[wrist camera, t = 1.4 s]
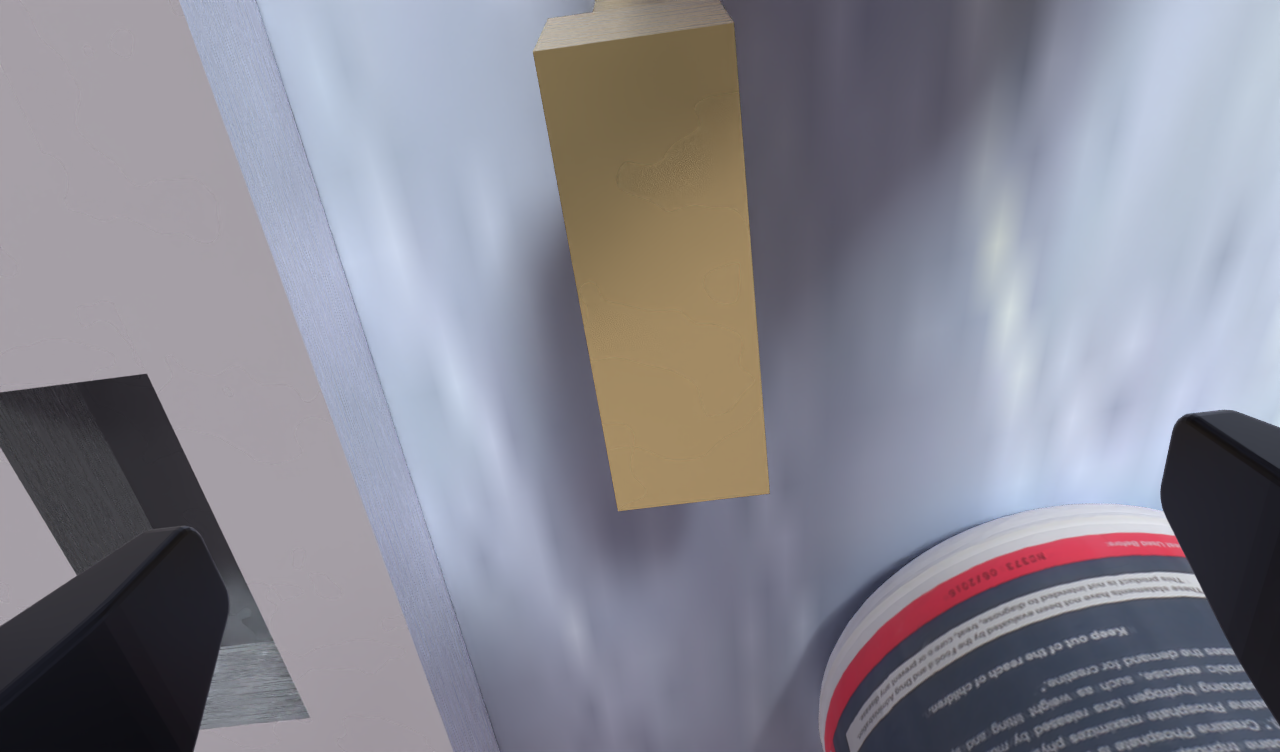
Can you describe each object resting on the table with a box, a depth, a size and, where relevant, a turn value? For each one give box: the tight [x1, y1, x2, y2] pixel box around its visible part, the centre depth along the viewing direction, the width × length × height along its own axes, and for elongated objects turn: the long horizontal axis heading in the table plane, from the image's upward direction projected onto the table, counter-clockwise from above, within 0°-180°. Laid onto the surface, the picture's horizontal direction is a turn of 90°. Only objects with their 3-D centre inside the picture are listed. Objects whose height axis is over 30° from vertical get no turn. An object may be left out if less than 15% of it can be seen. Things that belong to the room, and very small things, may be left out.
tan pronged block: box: [533, 0, 770, 511], centre depth 15 cm, size 2×7×7 cm, turn 8°
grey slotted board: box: [0, 0, 500, 752], centre depth 21 cm, size 10×24×3 cm, turn 8°
